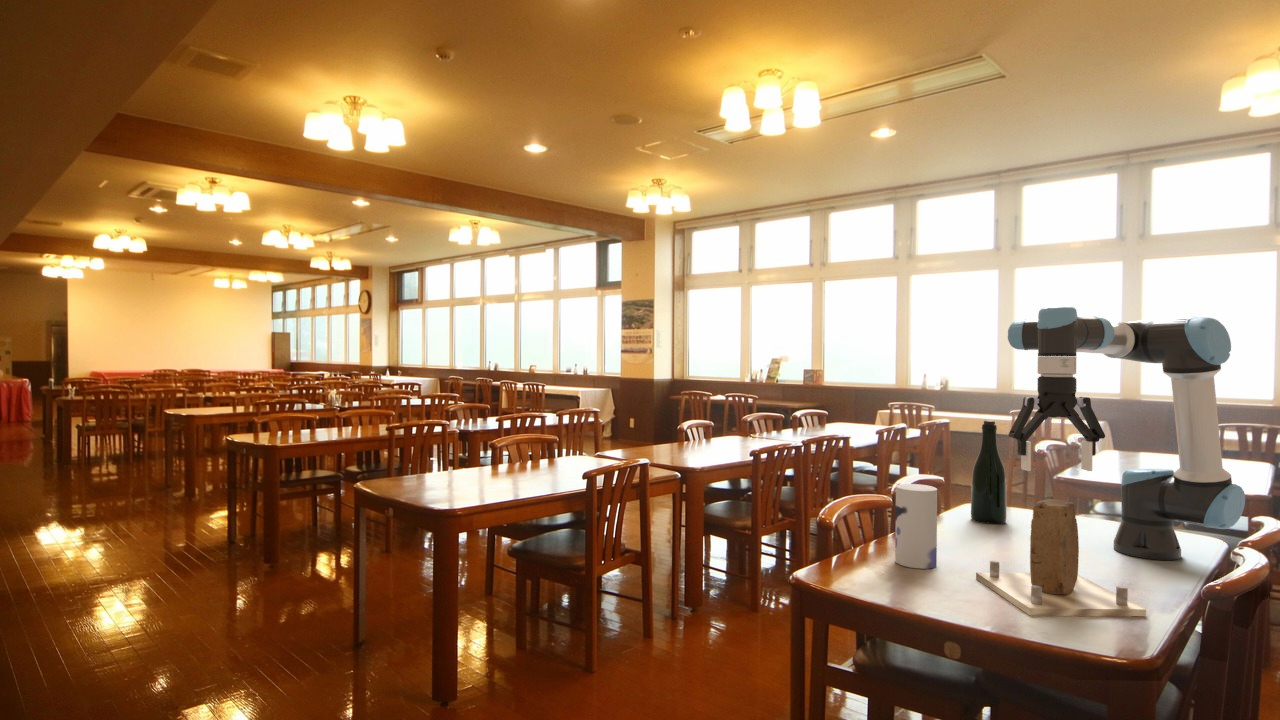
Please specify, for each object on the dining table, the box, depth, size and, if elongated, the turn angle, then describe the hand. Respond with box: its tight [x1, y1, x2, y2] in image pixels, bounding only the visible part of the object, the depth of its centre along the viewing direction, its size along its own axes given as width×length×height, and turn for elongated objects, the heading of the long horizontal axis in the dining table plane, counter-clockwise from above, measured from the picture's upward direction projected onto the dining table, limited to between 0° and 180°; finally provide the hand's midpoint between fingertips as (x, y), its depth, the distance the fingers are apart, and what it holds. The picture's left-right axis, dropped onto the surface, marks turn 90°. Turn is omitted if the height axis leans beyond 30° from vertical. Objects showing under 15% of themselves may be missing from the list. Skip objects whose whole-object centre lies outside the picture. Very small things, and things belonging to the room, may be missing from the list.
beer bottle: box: [970, 420, 1007, 525], centre depth 229 cm, size 10×10×33 cm
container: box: [894, 483, 938, 570], centre depth 182 cm, size 10×10×20 cm
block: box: [1029, 498, 1080, 595], centre depth 158 cm, size 11×8×20 cm
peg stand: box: [975, 560, 1147, 617], centre depth 158 cm, size 24×24×5 cm
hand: (1056, 470), depth 157 cm, fingers open, 13 cm apart
